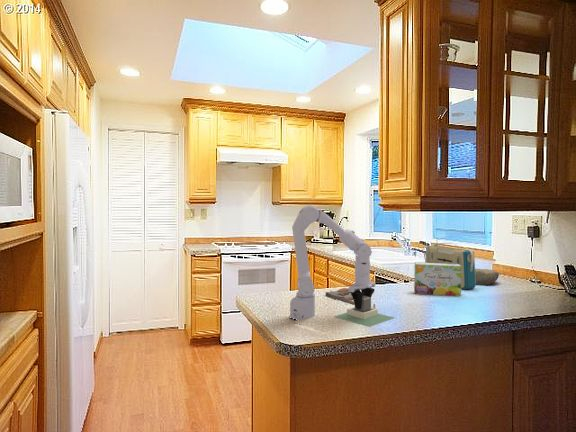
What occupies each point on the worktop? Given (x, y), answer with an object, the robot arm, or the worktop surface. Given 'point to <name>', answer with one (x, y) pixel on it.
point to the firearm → (341, 295)
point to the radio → (454, 261)
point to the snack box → (437, 279)
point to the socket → (362, 313)
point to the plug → (365, 304)
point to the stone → (485, 276)
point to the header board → (366, 322)
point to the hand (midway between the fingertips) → (362, 307)
